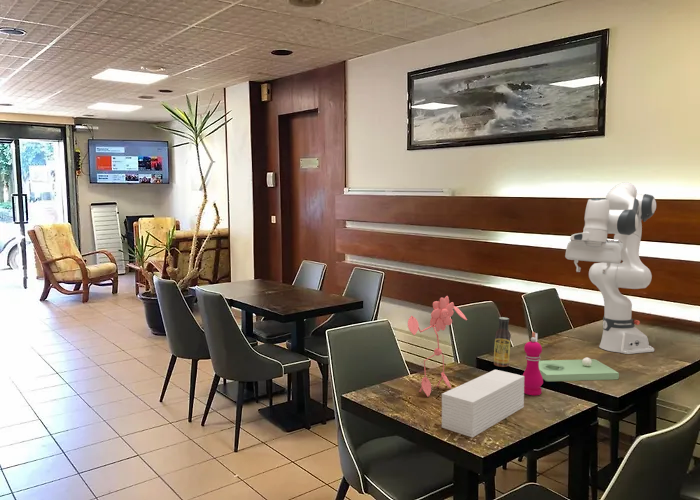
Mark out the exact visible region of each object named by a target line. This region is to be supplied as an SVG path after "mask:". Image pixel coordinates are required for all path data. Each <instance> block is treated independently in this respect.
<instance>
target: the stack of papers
mask: <svg viewBox="0 0 700 500" xmlns="http://www.w3.org/2000/svg"><path fill="white" fill-rule="evenodd" d="M524 386H525V385H524V376H523V374H521V375H520V374H517V373H512V372H508V371H504V370H500V369H499V370H498V369H493V370H491V371H489V372H487V373H484V374H482V375H480V376H478V377H475V378H473V379H471V380H469V381H467V382H465V383H462V384H461V385H458V386H456V387H454V388H451V389H449V390H447V391H445V392H443V393H441V428H443V429H445V430H448V431H451V432H454V433H457V434H461V435H462V436H463V435H464V436H467V437H471V438H474V437H475V436H478V435H479V434H480V433H483V432H484V431H486V430H487V429H490V427H492V426H493V427H494V425H497V424H498V423H499V422H501V421H502V420H504V419H506V418H508V417H510V416H511V415H513V414H514V413H516V412H518V411H519V410H520V411H521V409H522V408H524V407H525V393H524V391H523V390H524Z"/></svg>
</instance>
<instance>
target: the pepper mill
mask: <svg viewBox="0 0 700 500" xmlns="http://www.w3.org/2000/svg"><path fill="white" fill-rule="evenodd" d="M535 341H536V338H534V337H532V336H531V338H530V341H528V342H526V343H525V344H524V346H523V350H524V352H525V355H524V356H525V360H526V366H525V369H524V372H523V374H522V376H524V390H523V391H524V393H523V394H524V395H529V396H540V395H541V394H542V385H543V384H544V379H543V378H542V375H541V373H540V370H539V361H541V354H542V352H543V347H542V345H541V343H540V342H538V341H537V342H535Z"/></svg>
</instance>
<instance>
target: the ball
mask: <svg viewBox="0 0 700 500" xmlns="http://www.w3.org/2000/svg"><path fill="white" fill-rule="evenodd" d="M591 359H592V358H590V357H587V356H586V357H584V358H583V360H582V359H581V360H582V363H583V365H584V366H590V365H591V364H592V361H591Z"/></svg>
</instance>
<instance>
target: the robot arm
mask: <svg viewBox="0 0 700 500" xmlns="http://www.w3.org/2000/svg"><path fill="white" fill-rule="evenodd" d="M656 201H657V200H656V198H655V197H654V195H651V194H647V193H645V194H642V193H637V189H636V186H635V185H634V184H632V183H631V182H621V183H618V184H617V185H615V186H614V187H612V188H611V189H610V190H609V191H608V193H607V194H606V196H605V197H593V198H592V197H591V198H589V199H587V203H586V205H585V206H586V207H585V211H584V226H583V229H582V230H583V232H578V233H574V234H571V236H570V241H569V242H568V244H567V246H566V250H565V253H564V254H565V255H564V257H565V259H567V260H571V261H573V263H574V265H575V267H576V269H575V271H576V273H580V272H581V269H582V268H581V267H580V266H579V265H578V263H579V261H581V262H583V261H584V262H594V263H593V264H592V265H591V266H590V268H589V271H588V278H589V280H590V282H591V283H592V284H593V285H594V286H596V288H597V289H598V290H599V292H600V293H601V295H602V298H603V306H604V315H603V317H602V329H603V331H602V336H601V341H600V343H599V348H600V349H602V350H605V351H608V352H612V353H613V352H614V353H621V354H626V355H632V354H643V353H651V352H655V348H654V347H652V346H651V345H650V343H649V338H648V336H647V335H646V334H645V333H644V332H642V331H641V330H640V329H639V328H638V327H636V326H635V325H637V326H639V325H640V324H641V321H640V320H638V319H633V318H632V311H633V308H632V307H633V304H632V301H631V299H630V298H628V296H625V295H624V294H622V293H621V292H620V290H619V289H620V288H621V289H632V290H639V289H646V288H647V287H648V286H649V285H650V284H651V282H652V277H653V275H652V272H651V269H650V268H648V266H646V265H645V264H644V263H643V262H642V261H641V259H640V253H639V252H640V246H641V245H640V244H641V241H642V240H641V239H642V232H643V231H642V230H643V229H642V228H643V226H642V225H643V224H642V222H644V223H645V222H646V221H648V219H651V217H653V215H654V214H655V211H656V209H657V202H656ZM609 234H611V235H612V234H613V239H611V238H608V235H609Z"/></svg>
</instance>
